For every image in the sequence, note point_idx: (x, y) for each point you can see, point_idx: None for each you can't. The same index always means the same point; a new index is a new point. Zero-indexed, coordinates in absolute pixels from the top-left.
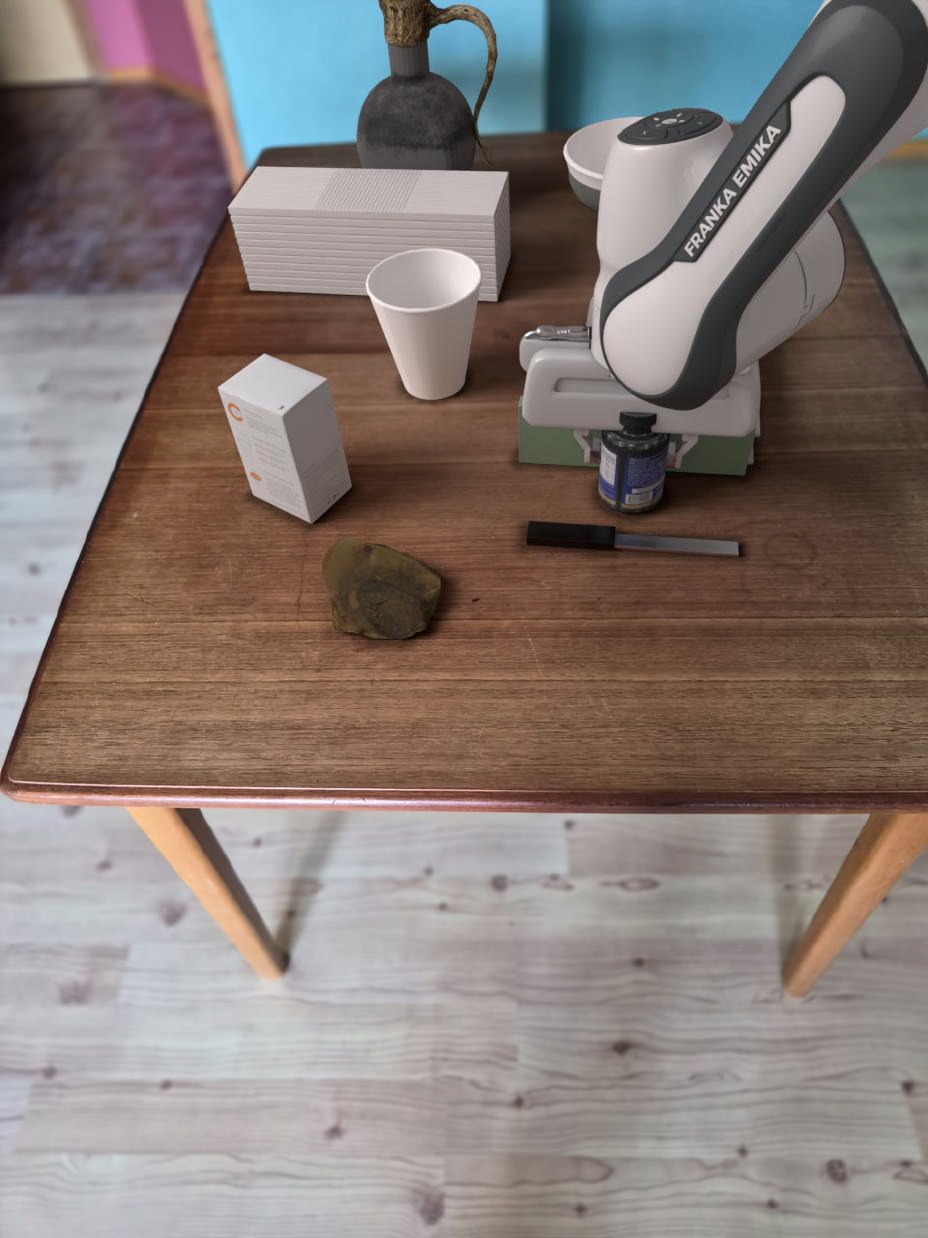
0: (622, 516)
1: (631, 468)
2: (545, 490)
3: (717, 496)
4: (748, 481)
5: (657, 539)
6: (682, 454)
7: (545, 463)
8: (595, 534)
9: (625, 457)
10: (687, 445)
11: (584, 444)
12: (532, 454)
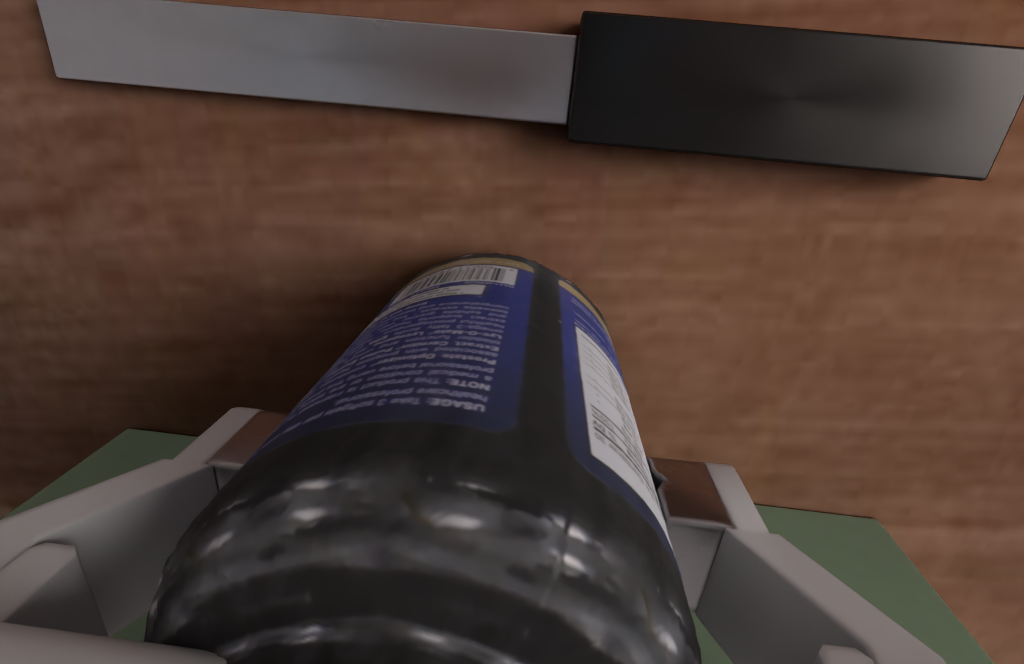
0: (527, 247)
1: (477, 360)
2: (812, 389)
3: (194, 342)
4: (112, 404)
5: (383, 86)
6: (166, 461)
7: (783, 509)
8: (671, 78)
9: (520, 421)
10: (79, 511)
11: (799, 569)
12: (851, 545)
